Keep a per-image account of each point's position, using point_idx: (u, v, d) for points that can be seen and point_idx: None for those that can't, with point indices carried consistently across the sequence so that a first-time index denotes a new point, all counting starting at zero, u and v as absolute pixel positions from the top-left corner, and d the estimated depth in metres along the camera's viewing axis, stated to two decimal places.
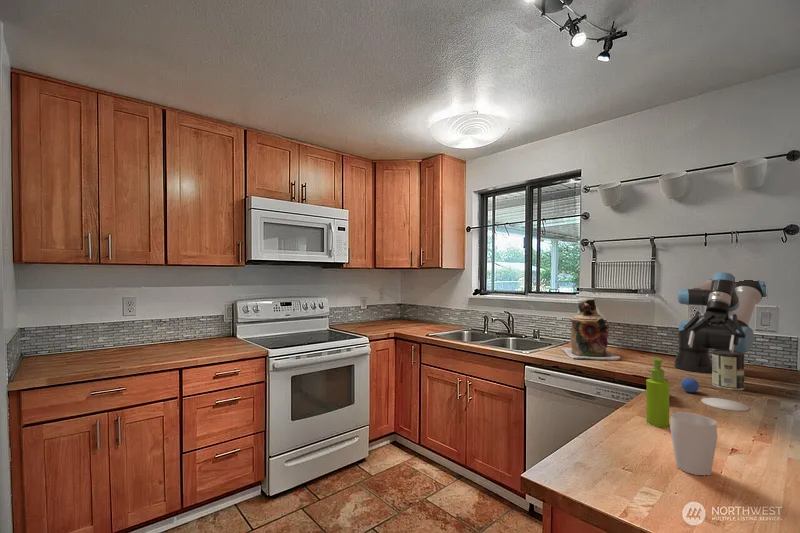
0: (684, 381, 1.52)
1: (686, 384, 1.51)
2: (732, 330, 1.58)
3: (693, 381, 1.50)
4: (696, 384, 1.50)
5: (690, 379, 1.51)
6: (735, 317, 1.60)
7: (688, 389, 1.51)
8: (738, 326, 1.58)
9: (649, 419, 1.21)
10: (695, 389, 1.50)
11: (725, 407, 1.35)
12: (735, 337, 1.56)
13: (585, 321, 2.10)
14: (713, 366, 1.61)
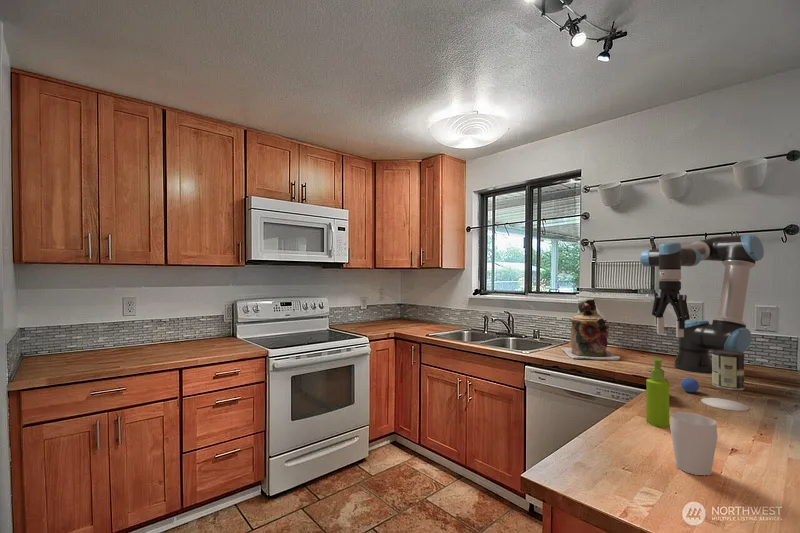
0: (684, 381, 1.52)
1: (686, 384, 1.51)
2: (677, 314, 1.57)
3: (693, 381, 1.50)
4: (696, 384, 1.50)
5: (690, 379, 1.51)
6: (680, 299, 1.56)
7: (688, 389, 1.51)
8: (681, 309, 1.55)
9: (649, 419, 1.21)
10: (695, 389, 1.50)
11: (725, 407, 1.35)
12: (680, 322, 1.56)
13: (585, 321, 2.10)
14: (713, 366, 1.61)
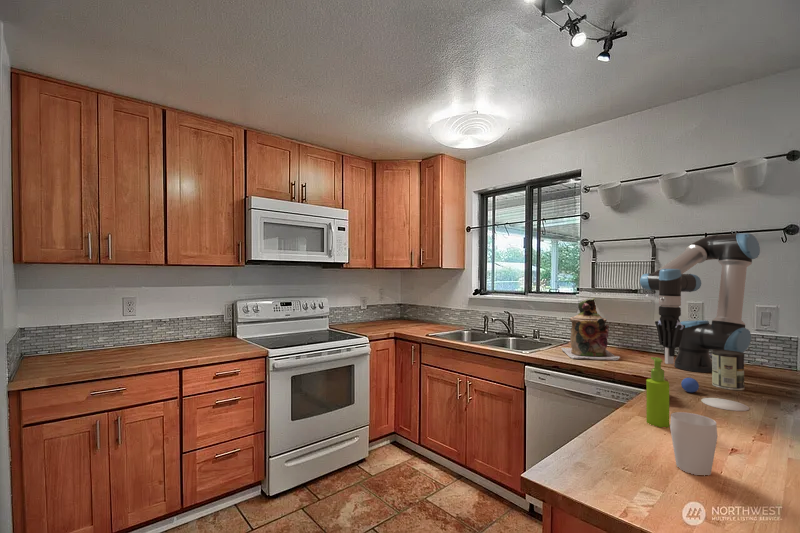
0: (684, 381, 1.52)
1: (686, 384, 1.51)
2: (669, 341, 1.60)
3: (693, 381, 1.50)
4: (696, 384, 1.50)
5: (690, 379, 1.51)
6: (677, 328, 1.56)
7: (688, 389, 1.51)
8: (674, 338, 1.58)
9: (649, 419, 1.21)
10: (695, 389, 1.50)
11: (725, 407, 1.35)
12: (670, 349, 1.61)
13: (585, 321, 2.10)
14: (713, 366, 1.61)
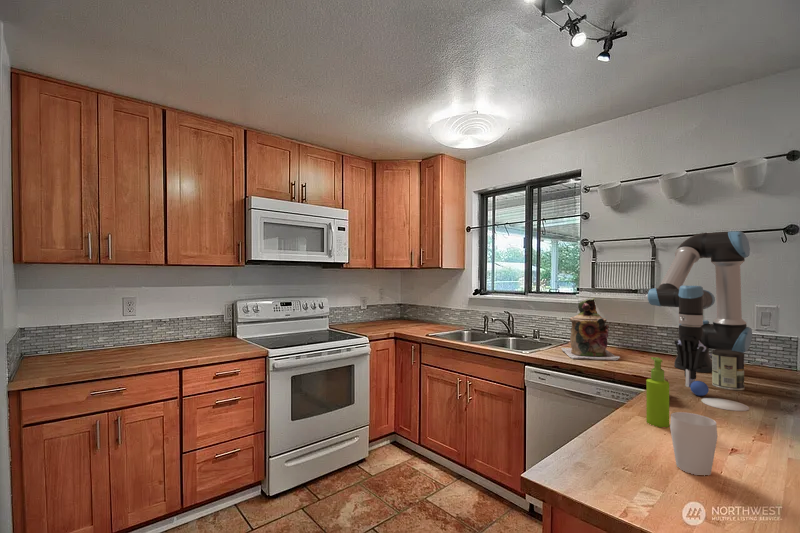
0: (696, 388, 1.47)
1: (694, 391, 1.47)
2: (690, 363, 1.50)
3: (704, 393, 1.46)
4: None
5: (704, 390, 1.45)
6: (699, 350, 1.46)
7: (693, 392, 1.49)
8: (696, 360, 1.48)
9: (649, 419, 1.21)
10: None
11: (725, 407, 1.35)
12: (691, 372, 1.50)
13: (585, 321, 2.10)
14: (713, 366, 1.61)
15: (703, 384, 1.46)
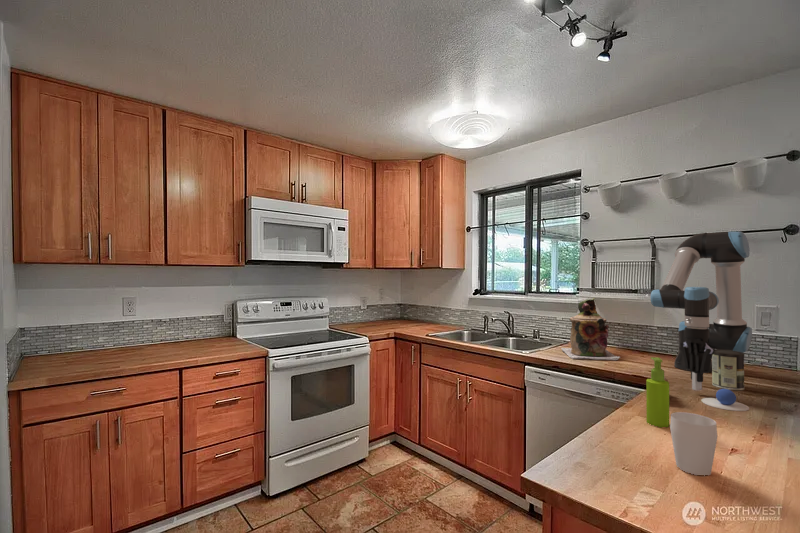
0: (716, 395, 1.39)
1: (719, 394, 1.38)
2: (696, 366, 1.48)
3: (720, 389, 1.40)
4: None
5: None
6: (706, 353, 1.44)
7: (725, 395, 1.36)
8: (703, 362, 1.46)
9: (649, 419, 1.21)
10: (729, 391, 1.37)
11: (725, 407, 1.35)
12: (697, 374, 1.48)
13: (585, 321, 2.10)
14: (713, 366, 1.61)
15: None
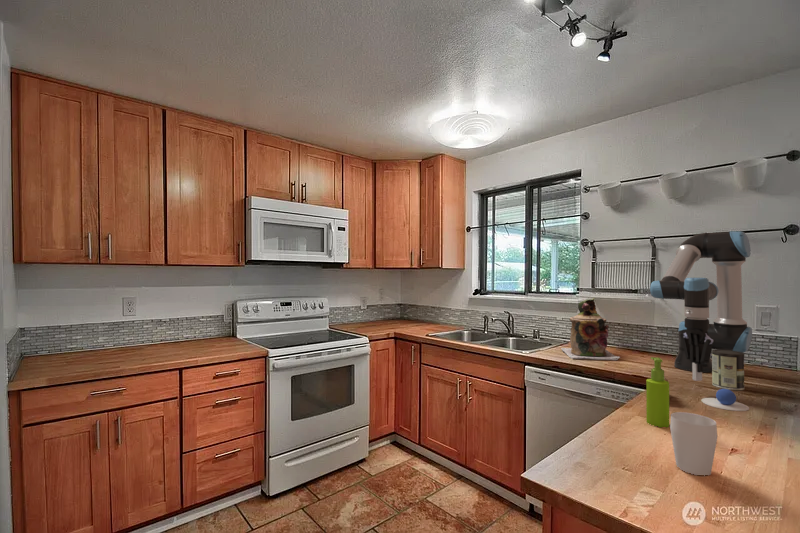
0: (716, 395, 1.39)
1: (719, 394, 1.38)
2: (697, 356, 1.48)
3: (720, 389, 1.40)
4: None
5: None
6: (707, 343, 1.44)
7: (725, 395, 1.36)
8: (703, 353, 1.46)
9: (649, 419, 1.21)
10: (729, 391, 1.37)
11: (725, 407, 1.35)
12: (698, 365, 1.49)
13: (585, 321, 2.10)
14: (713, 366, 1.61)
15: None
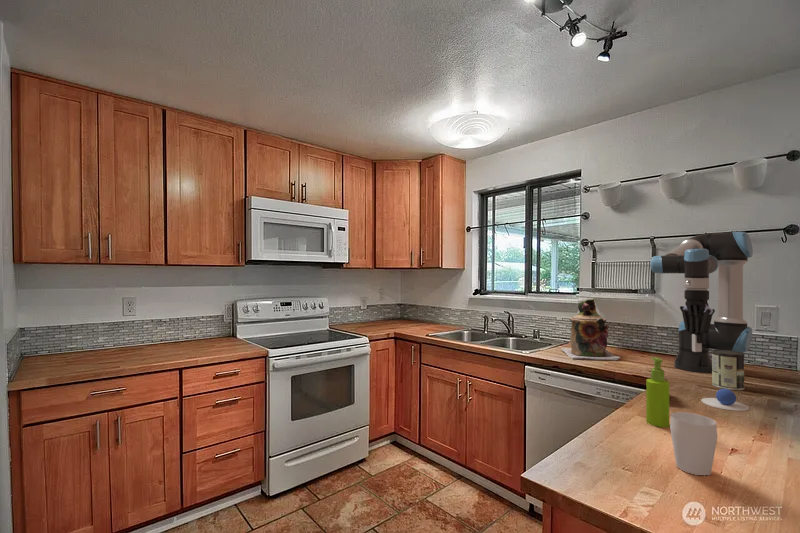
0: (716, 395, 1.39)
1: (719, 394, 1.38)
2: (696, 327, 1.48)
3: (720, 389, 1.40)
4: None
5: None
6: (706, 313, 1.44)
7: (725, 395, 1.36)
8: (703, 323, 1.46)
9: (649, 419, 1.21)
10: (729, 391, 1.37)
11: (725, 407, 1.35)
12: (697, 336, 1.48)
13: (585, 321, 2.10)
14: (713, 366, 1.61)
15: None
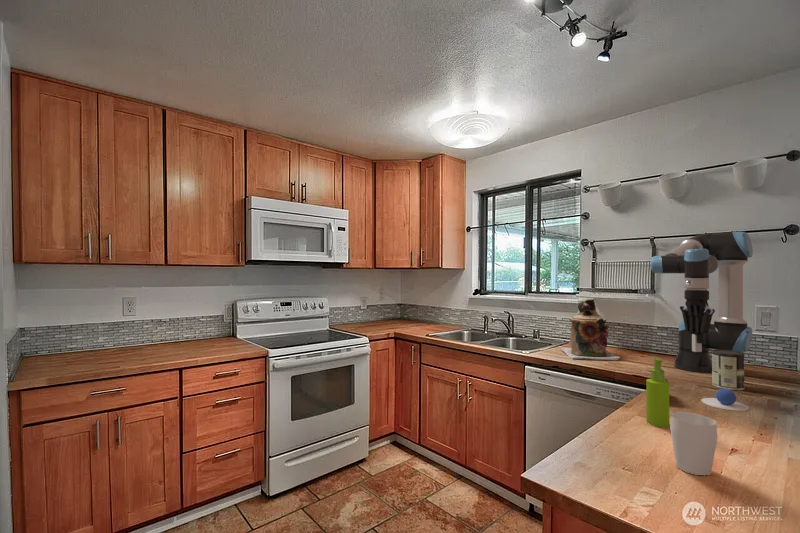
0: (716, 395, 1.39)
1: (719, 394, 1.38)
2: (696, 327, 1.48)
3: (720, 389, 1.40)
4: None
5: None
6: (706, 313, 1.44)
7: (725, 395, 1.36)
8: (703, 323, 1.46)
9: (649, 419, 1.21)
10: (729, 391, 1.37)
11: (725, 407, 1.35)
12: (697, 336, 1.48)
13: (585, 321, 2.10)
14: (713, 366, 1.61)
15: None
